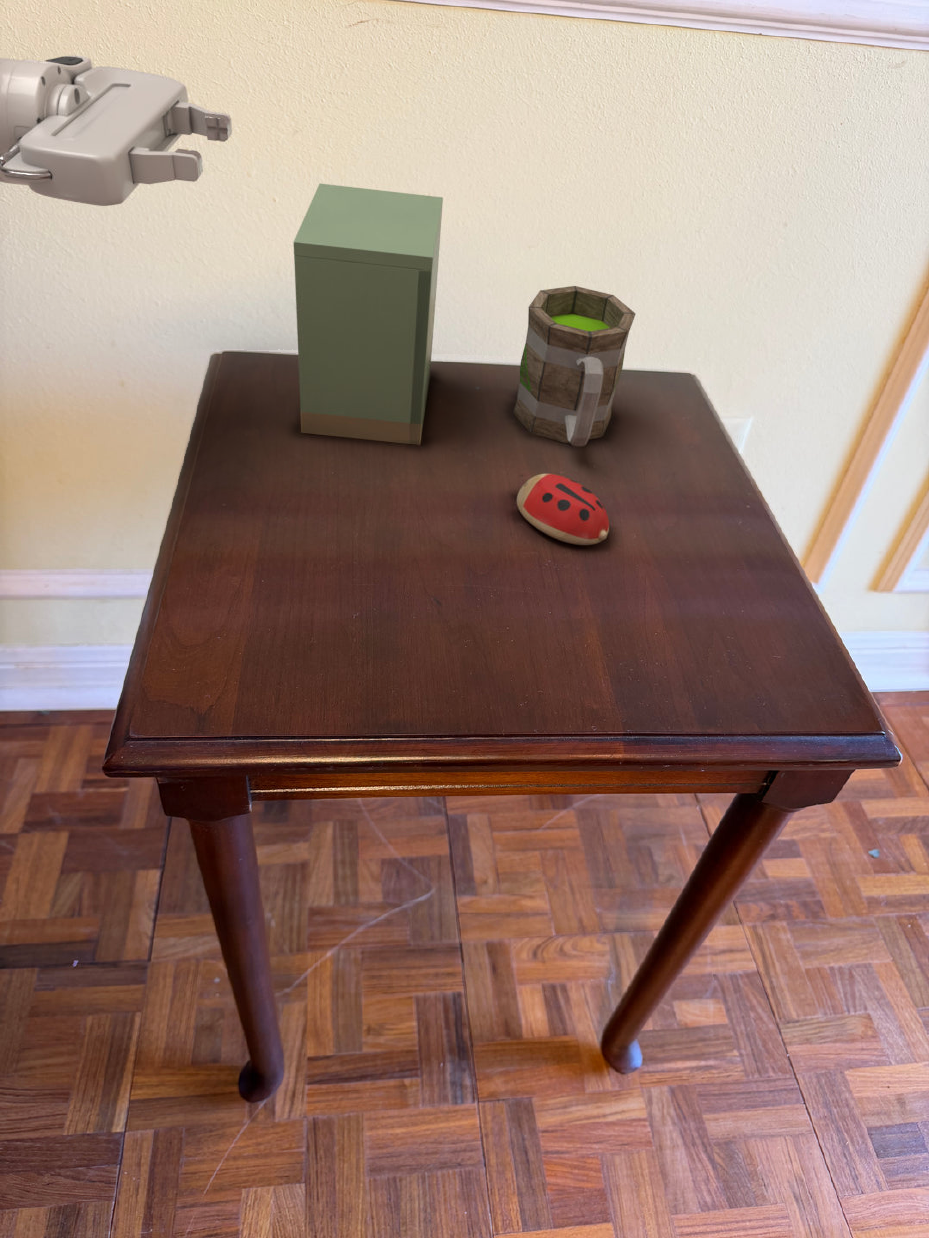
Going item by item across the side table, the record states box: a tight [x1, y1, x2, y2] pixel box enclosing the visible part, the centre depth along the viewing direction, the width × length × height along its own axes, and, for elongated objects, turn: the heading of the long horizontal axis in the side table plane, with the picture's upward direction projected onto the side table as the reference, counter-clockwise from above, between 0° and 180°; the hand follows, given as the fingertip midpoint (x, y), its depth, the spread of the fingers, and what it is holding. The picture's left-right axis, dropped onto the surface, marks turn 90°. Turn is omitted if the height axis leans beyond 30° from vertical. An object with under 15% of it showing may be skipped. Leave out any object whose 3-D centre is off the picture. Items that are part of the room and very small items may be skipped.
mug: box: [512, 285, 636, 447], centre depth 91 cm, size 16×11×12 cm
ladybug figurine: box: [516, 473, 610, 546], centre depth 82 cm, size 7×10×4 cm
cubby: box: [293, 183, 444, 446], centre depth 88 cm, size 12×14×19 cm
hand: (215, 146), depth 72 cm, fingers open, 8 cm apart
